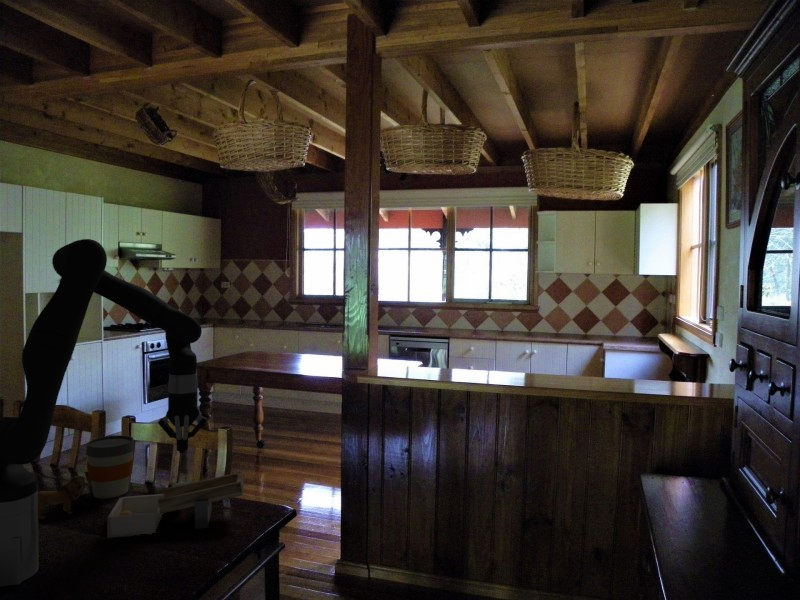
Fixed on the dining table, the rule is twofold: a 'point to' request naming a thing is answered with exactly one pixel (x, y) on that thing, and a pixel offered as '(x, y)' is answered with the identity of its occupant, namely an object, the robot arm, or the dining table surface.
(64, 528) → the dining table surface
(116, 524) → the tray
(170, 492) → the lever
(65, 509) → the lion figurine
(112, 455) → the reusable coffee cup
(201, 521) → the fulcrum
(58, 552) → the dining table surface
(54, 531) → the dining table surface
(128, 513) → the ball
